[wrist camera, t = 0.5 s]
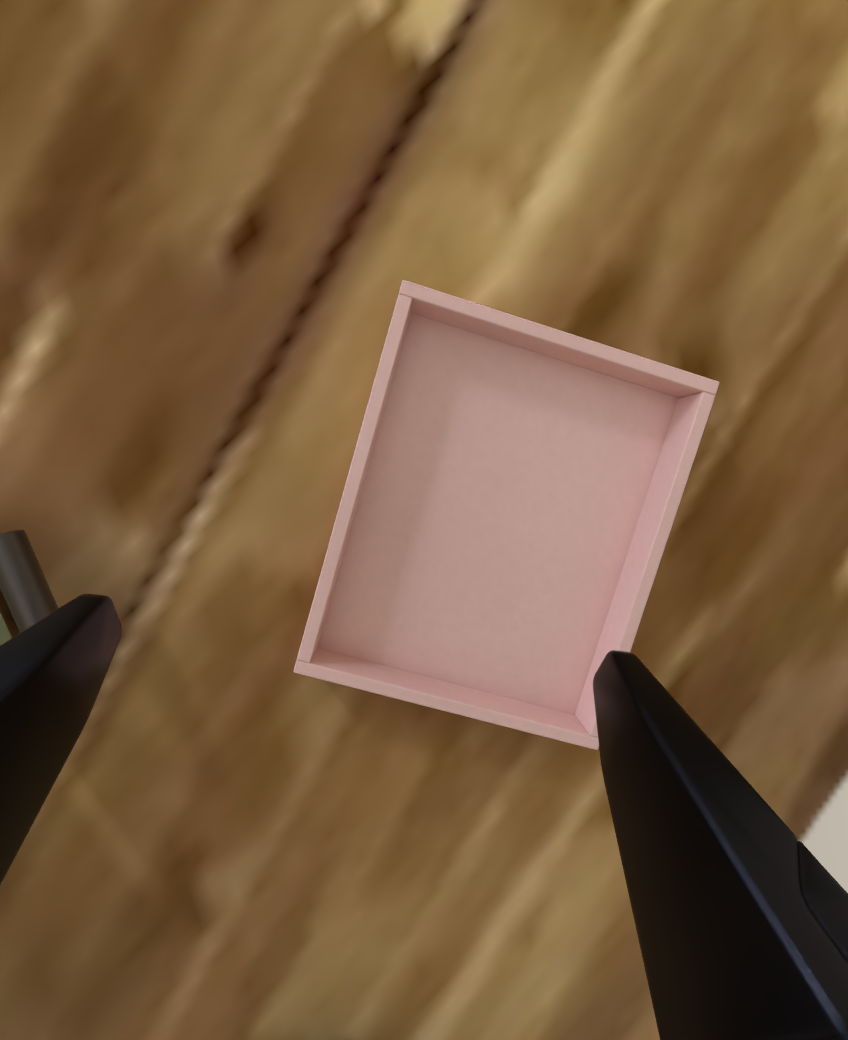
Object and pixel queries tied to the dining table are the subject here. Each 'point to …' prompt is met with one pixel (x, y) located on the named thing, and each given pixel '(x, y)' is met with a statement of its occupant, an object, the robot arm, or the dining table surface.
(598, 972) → the dining table surface
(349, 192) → the dining table surface
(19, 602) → the drawer
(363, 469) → the tray
